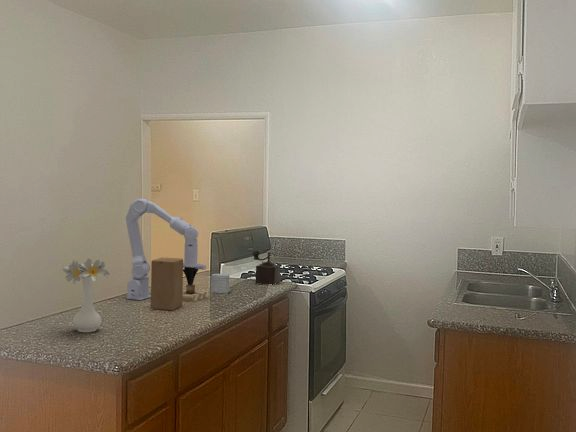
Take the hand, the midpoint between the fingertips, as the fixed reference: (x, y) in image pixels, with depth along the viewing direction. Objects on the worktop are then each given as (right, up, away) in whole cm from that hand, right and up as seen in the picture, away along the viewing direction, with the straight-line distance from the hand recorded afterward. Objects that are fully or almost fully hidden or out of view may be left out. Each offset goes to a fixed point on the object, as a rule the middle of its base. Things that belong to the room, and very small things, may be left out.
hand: (190, 284), depth 254 cm
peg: (0, -6, 0) cm, 6 cm away
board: (-1, -6, +2) cm, 6 cm away
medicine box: (+11, -6, +16) cm, 21 cm away
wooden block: (-7, -7, -19) cm, 21 cm away
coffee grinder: (+32, -5, +44) cm, 54 cm away
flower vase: (-26, -9, -58) cm, 64 cm away
